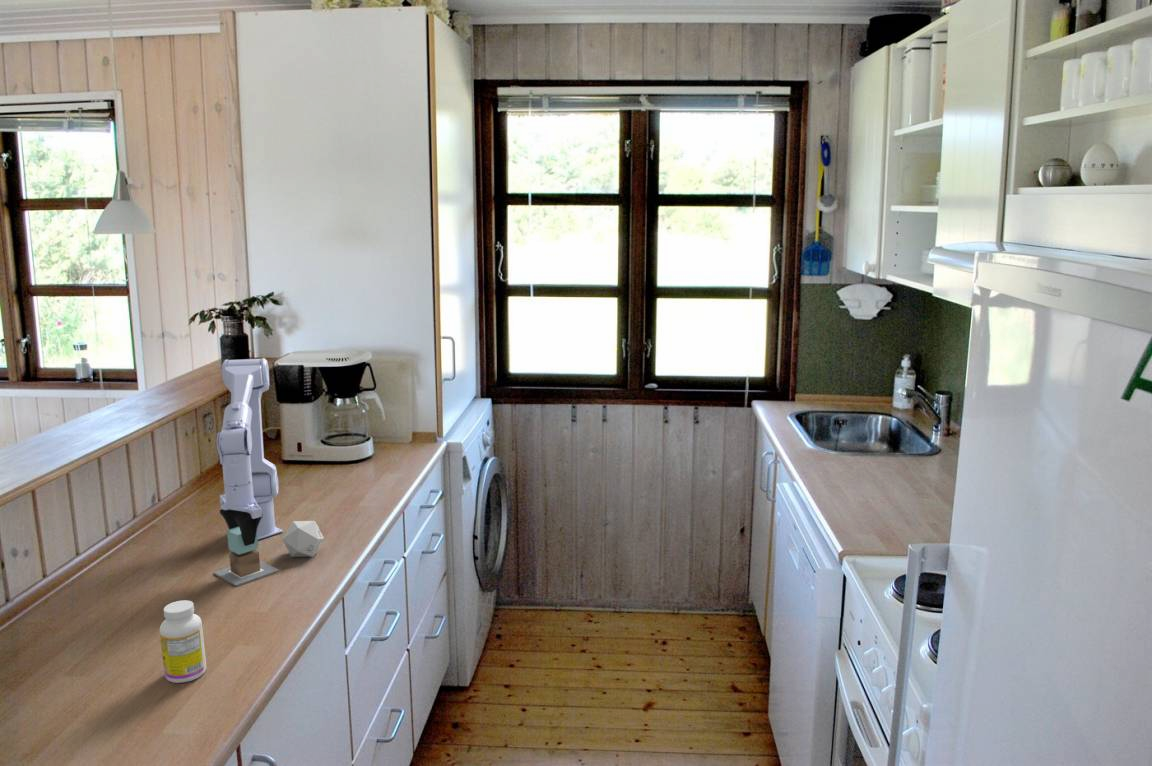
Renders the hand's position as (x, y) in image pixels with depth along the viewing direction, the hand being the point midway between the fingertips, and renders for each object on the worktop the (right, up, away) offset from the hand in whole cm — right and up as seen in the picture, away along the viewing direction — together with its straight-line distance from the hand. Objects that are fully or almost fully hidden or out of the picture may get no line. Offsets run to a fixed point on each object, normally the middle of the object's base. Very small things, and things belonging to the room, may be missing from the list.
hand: (243, 541), depth 187 cm
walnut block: (0, -7, +1) cm, 7 cm away
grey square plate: (0, -7, +2) cm, 7 cm away
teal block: (0, -2, 0) cm, 2 cm away
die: (+10, -5, +11) cm, 16 cm away
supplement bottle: (+5, -16, -39) cm, 42 cm away
